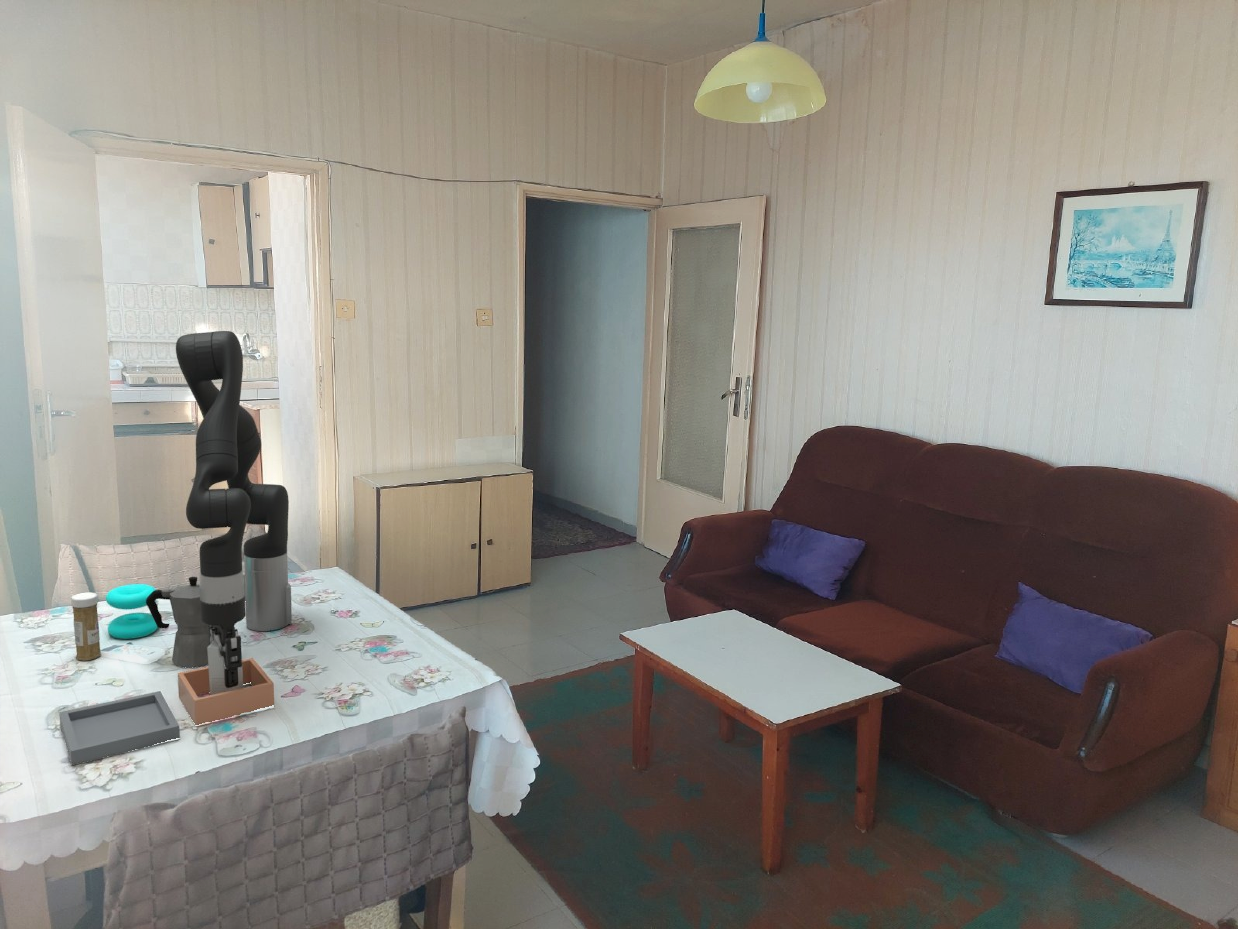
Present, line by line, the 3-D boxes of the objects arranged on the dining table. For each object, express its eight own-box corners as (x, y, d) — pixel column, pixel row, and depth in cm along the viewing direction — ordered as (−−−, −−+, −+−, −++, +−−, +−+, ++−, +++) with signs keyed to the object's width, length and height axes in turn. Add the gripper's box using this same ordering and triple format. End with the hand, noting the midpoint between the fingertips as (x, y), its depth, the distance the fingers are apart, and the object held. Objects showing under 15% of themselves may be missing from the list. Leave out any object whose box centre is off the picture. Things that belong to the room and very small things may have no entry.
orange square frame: (253, 681, 175) (252, 657, 174) (274, 708, 165) (273, 683, 164) (178, 697, 167) (177, 673, 166) (195, 727, 156) (194, 700, 155)
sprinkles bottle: (102, 659, 182) (97, 597, 180) (76, 663, 180) (71, 600, 177) (100, 651, 186) (96, 590, 183) (75, 655, 183) (70, 593, 181)
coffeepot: (232, 647, 191) (229, 568, 187) (229, 665, 182) (226, 582, 179) (152, 654, 185) (148, 572, 182) (145, 672, 177) (141, 587, 173)
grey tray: (160, 703, 164) (160, 691, 164) (180, 739, 152) (179, 726, 152) (60, 725, 155) (59, 712, 154) (71, 765, 142) (70, 751, 142)
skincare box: (221, 693, 169) (218, 634, 166) (244, 693, 169) (241, 634, 167) (209, 707, 163) (206, 647, 160) (233, 708, 163) (230, 647, 161)
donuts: (132, 579, 201) (167, 586, 198) (135, 621, 203) (169, 628, 200) (94, 593, 192) (130, 599, 188) (97, 636, 193) (132, 644, 190)
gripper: (255, 603, 159) (258, 688, 162) (233, 580, 170) (236, 660, 173) (210, 610, 154) (214, 698, 157) (191, 587, 165) (195, 669, 168)
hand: (226, 678), depth 165 cm, fingers closed on skincare box, 7 cm apart
